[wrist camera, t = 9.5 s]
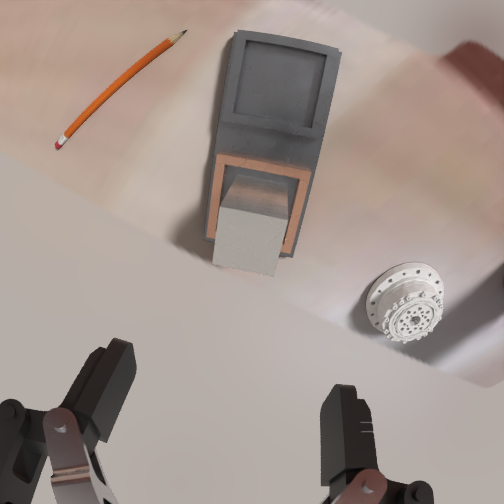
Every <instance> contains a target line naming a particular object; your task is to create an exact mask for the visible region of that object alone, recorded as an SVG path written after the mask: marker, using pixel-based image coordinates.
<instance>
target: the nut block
mask: <svg viewBox="0 0 504 504" xmlns="http://www.w3.org/2000/svg"><path fill="white" fill-rule="evenodd" d="M287 223H288V196H287V184H284V183H279V182H275V181H270V180H265V179H260V178H255V177H249V176H244V175H239V174H237V176H236V178H235V179H234V181H233V183H232V185H231V187H230V188H229V190H228V192H227V194H226V196H225V198H224V200H223V201H222V203H221V205H220V208H219V215H218V223H217V230H216V238H215V246H214V254H213V262H212V264H214V265H218V266H223V267H228V268H233V269H238V270H243V271H248V272H253V273H258V274H263V275H268V276H273V277H274V274H275V270H276V266H277V262H278V258H279V254H280V250H281V247H282V243H283V239H284V235H285V231H286V227H287Z"/></svg>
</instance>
